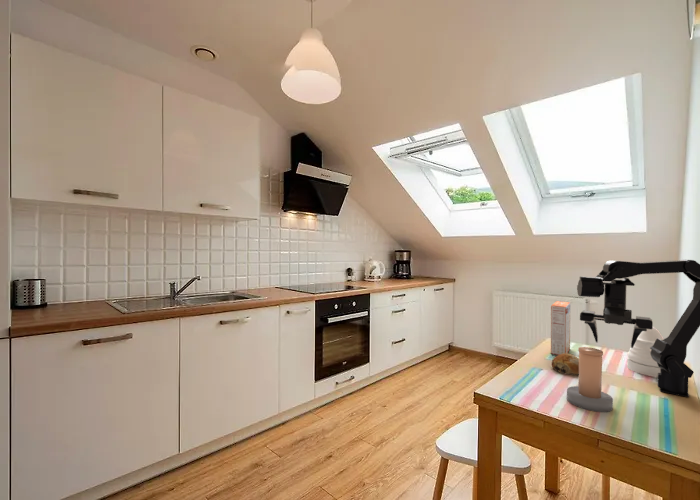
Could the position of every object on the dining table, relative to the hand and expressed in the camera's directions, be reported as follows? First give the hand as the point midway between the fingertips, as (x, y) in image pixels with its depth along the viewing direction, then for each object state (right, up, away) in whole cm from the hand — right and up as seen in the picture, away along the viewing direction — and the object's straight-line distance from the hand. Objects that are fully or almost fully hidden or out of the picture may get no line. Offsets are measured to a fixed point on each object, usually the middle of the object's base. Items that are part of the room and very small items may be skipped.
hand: (613, 345), depth 113 cm
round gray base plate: (-18, -13, -14) cm, 26 cm away
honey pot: (+23, -13, +12) cm, 29 cm away
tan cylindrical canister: (-18, -11, -14) cm, 25 cm away
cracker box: (+4, -13, +35) cm, 37 cm away
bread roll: (-8, -13, +12) cm, 20 cm away
